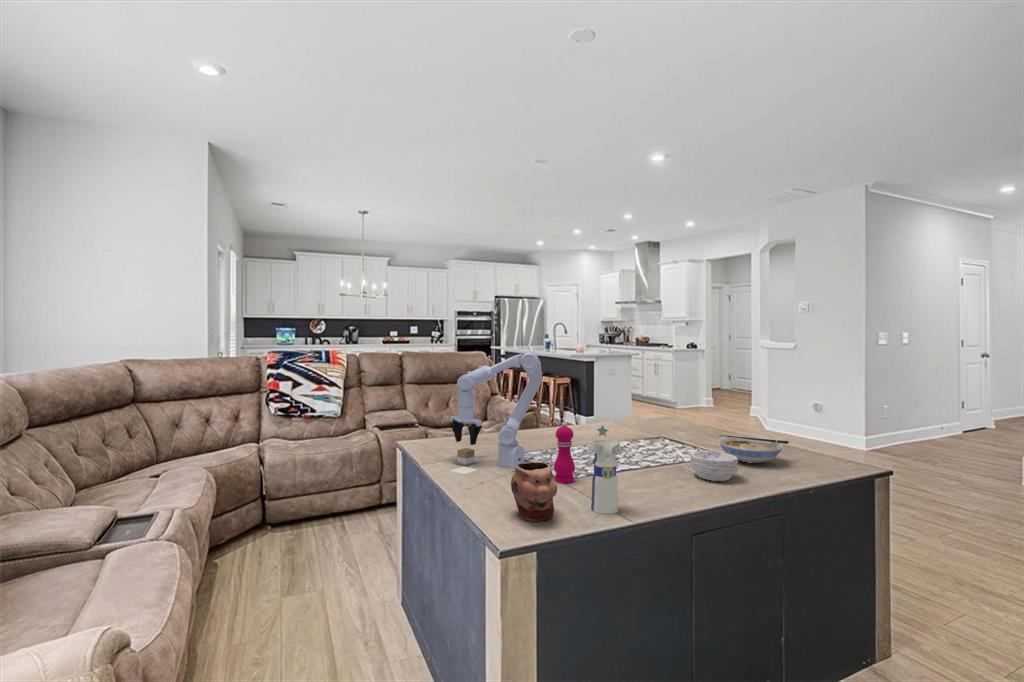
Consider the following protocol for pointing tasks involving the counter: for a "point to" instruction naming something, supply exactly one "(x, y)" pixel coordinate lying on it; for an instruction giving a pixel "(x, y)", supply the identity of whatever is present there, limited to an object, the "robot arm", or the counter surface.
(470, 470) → the stand
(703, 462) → the paper bowls
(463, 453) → the block
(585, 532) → the counter surface
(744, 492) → the counter surface
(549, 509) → the decorative planter
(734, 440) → the ramen bowl
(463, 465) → the stand
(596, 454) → the white figurine with star
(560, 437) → the pepper mill
